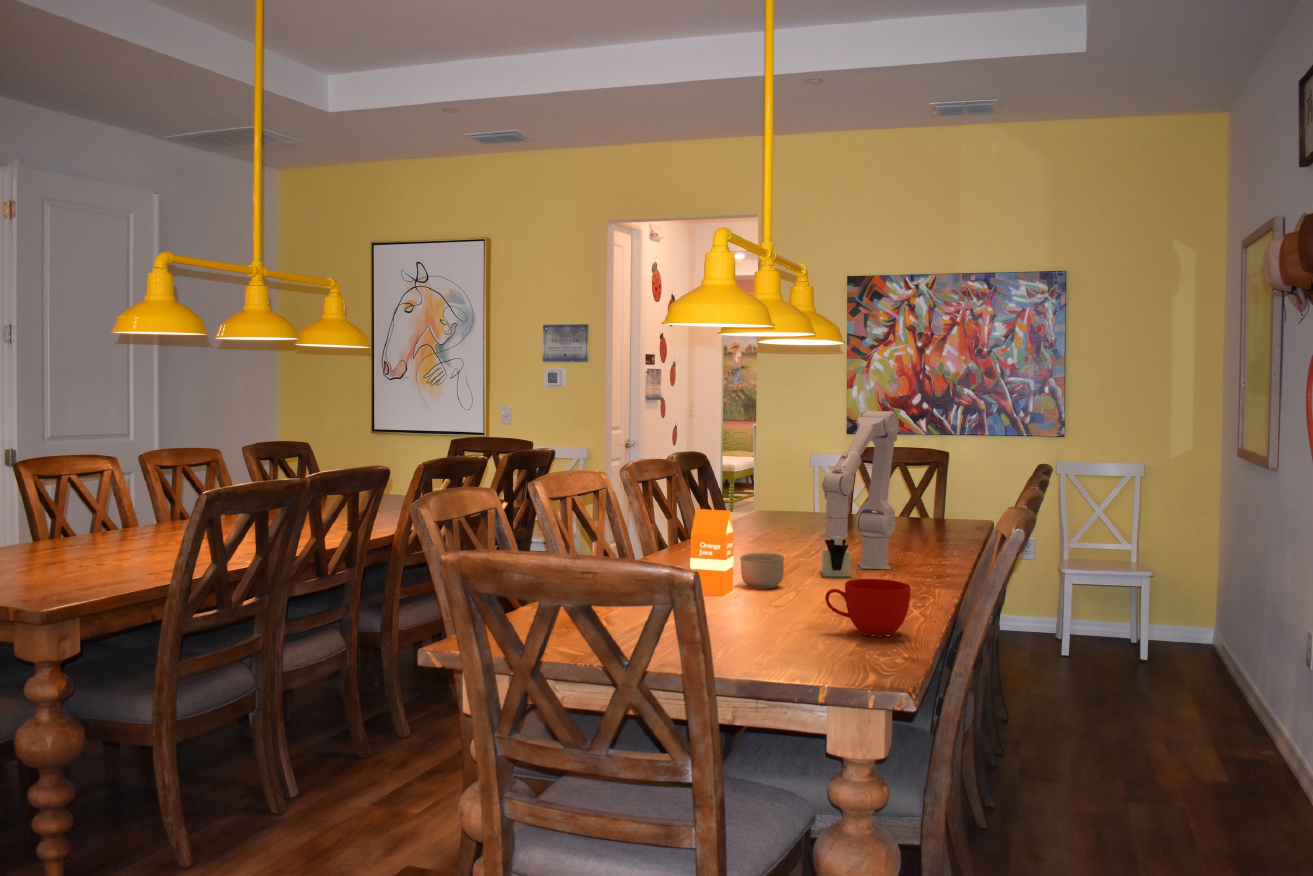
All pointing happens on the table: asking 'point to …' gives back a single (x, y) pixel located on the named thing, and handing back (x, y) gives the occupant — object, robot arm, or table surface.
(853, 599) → the ceramic cup
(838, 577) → the thin dark grey panel
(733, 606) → the table surface
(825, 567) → the beige cuboid
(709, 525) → the orange juice
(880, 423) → the robot arm
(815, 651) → the table surface
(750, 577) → the teacup
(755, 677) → the table surface
